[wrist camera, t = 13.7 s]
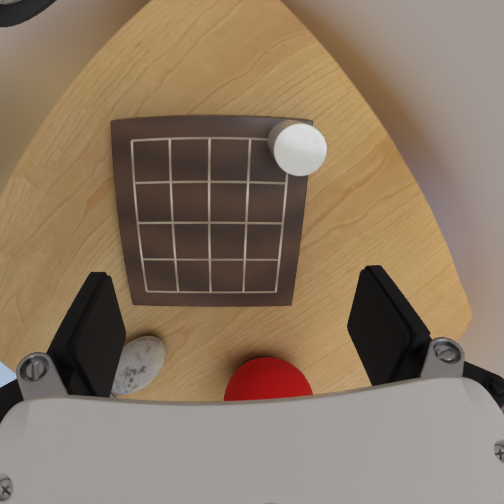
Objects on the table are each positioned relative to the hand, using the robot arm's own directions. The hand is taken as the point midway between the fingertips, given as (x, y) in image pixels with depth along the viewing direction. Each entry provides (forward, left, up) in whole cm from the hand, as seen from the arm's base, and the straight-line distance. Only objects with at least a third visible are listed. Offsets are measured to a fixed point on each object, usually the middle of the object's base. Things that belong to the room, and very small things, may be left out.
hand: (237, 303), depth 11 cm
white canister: (-3, +5, -18) cm, 19 cm away
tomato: (+28, +5, -20) cm, 35 cm away
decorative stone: (+26, -13, -20) cm, 35 cm away
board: (+5, -2, -20) cm, 21 cm away
